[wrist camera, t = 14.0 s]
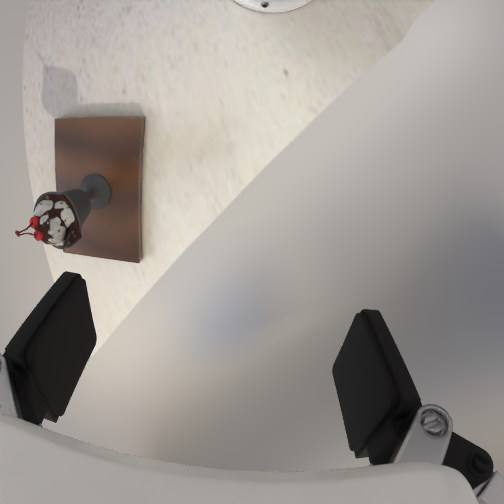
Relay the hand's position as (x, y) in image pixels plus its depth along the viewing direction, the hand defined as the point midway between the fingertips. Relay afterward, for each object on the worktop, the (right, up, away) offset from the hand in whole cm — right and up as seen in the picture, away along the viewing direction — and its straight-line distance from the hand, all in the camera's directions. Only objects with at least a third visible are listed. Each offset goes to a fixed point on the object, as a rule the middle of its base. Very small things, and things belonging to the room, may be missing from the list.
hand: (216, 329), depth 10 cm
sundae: (-20, +11, +27) cm, 35 cm away
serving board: (-20, +11, +28) cm, 36 cm away
